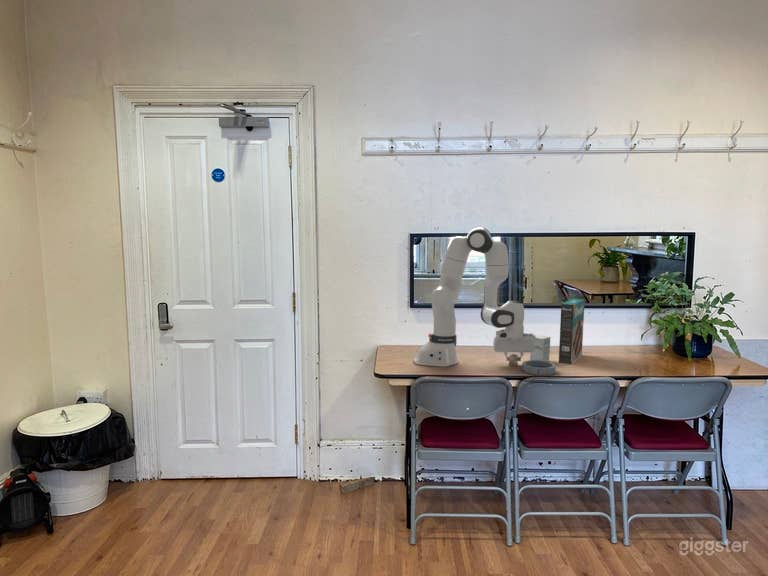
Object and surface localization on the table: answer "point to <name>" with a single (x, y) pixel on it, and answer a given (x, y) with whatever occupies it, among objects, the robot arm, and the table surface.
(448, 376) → the table surface
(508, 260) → the robot arm
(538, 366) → the round dish
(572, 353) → the cake mix box
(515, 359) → the wooden bead
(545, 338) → the supplement box
